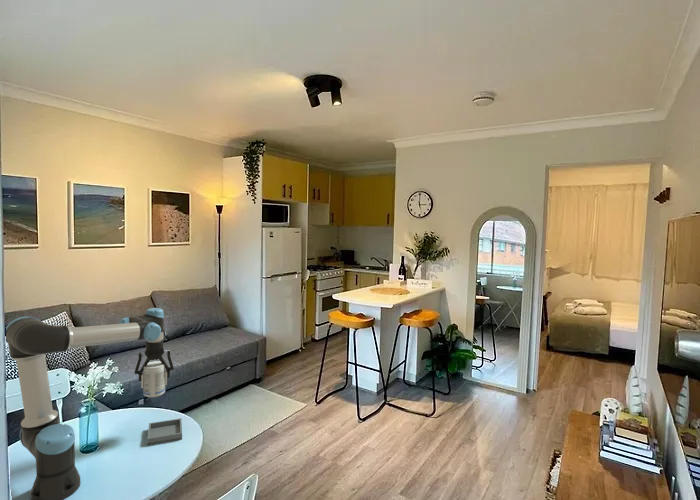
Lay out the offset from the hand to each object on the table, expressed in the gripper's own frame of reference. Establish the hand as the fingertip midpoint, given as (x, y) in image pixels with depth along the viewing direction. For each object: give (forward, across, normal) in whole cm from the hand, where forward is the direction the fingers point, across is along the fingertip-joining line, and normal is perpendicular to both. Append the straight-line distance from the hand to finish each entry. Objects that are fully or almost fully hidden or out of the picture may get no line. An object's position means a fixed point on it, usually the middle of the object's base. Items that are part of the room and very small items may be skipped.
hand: (154, 385), depth 193 cm
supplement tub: (+4, 0, 0) cm, 4 cm away
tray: (+22, +5, -6) cm, 24 cm away
